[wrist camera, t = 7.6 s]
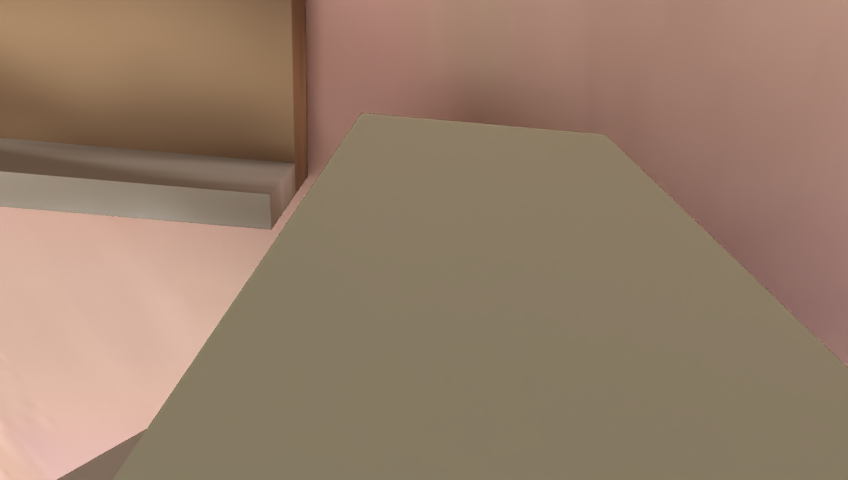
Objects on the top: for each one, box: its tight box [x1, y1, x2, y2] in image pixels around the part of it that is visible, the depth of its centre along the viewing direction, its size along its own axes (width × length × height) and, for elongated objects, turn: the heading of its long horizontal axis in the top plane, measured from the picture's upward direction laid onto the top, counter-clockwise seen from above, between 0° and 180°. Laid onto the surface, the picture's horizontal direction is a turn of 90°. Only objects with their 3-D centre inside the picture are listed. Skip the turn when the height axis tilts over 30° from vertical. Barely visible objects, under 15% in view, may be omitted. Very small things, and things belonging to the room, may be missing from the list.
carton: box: [113, 113, 848, 480], centre depth 8 cm, size 5×7×9 cm, turn 175°
